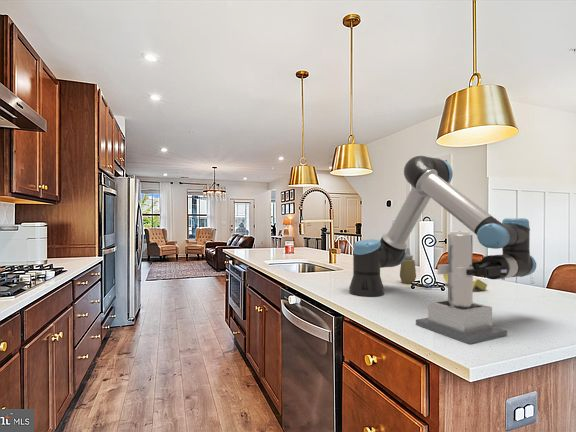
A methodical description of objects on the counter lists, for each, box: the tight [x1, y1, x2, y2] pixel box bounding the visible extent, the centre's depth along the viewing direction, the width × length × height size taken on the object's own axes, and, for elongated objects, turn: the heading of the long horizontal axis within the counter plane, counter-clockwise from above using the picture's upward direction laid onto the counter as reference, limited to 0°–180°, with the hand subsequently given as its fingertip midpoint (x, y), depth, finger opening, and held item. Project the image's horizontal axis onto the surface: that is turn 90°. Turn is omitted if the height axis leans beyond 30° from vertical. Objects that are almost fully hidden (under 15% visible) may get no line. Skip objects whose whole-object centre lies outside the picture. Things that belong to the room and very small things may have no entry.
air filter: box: [447, 230, 474, 310], centre depth 98 cm, size 6×6×25 cm
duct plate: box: [415, 298, 508, 345], centre depth 98 cm, size 18×16×8 cm
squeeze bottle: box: [399, 247, 417, 285], centre depth 171 cm, size 8×8×18 cm
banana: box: [442, 274, 488, 292], centre depth 161 cm, size 20×7×10 cm
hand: (447, 271), depth 96 cm, fingers closed on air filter, 5 cm apart
